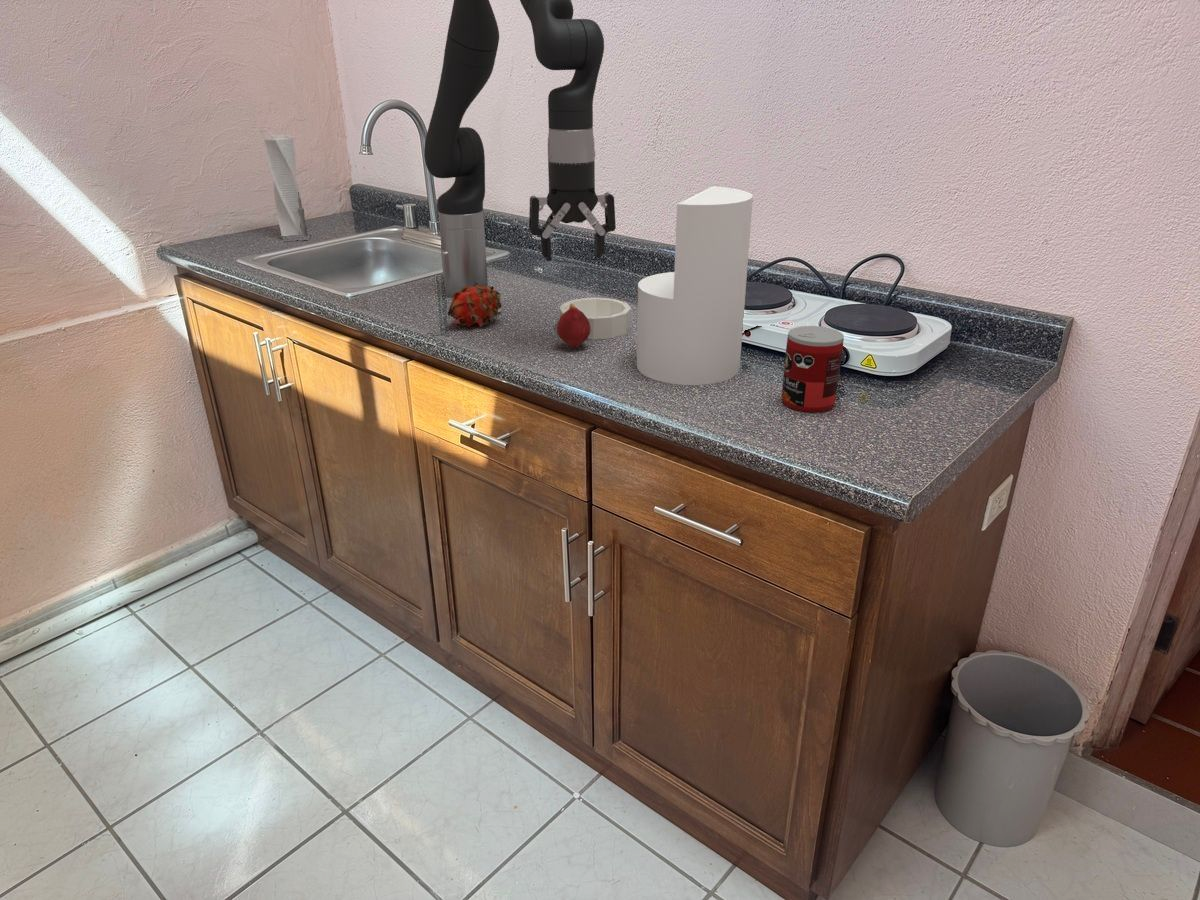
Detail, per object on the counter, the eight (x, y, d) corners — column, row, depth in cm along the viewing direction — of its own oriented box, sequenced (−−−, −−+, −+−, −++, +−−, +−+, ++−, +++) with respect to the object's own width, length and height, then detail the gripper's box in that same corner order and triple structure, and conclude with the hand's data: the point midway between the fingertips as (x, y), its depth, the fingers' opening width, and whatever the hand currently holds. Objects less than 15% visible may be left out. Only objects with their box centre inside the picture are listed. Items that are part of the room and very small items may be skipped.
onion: (594, 344, 151) (594, 301, 148) (583, 355, 147) (583, 310, 143) (564, 341, 153) (563, 298, 150) (552, 351, 148) (551, 307, 145)
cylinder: (751, 356, 146) (765, 189, 133) (722, 392, 131) (734, 208, 119) (657, 343, 152) (662, 182, 139) (620, 375, 138) (622, 199, 125)
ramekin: (567, 341, 153) (567, 320, 151) (555, 320, 164) (555, 300, 162) (637, 336, 155) (637, 315, 153) (620, 315, 167) (620, 296, 165)
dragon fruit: (508, 326, 166) (456, 348, 160) (484, 295, 168) (432, 315, 162) (516, 299, 159) (462, 320, 153) (491, 266, 161) (437, 286, 155)
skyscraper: (276, 242, 225) (257, 130, 213) (280, 235, 233) (261, 127, 220) (309, 240, 227) (291, 130, 214) (311, 234, 234) (295, 127, 222)
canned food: (775, 394, 131) (781, 326, 126) (825, 392, 131) (834, 324, 126) (789, 414, 124) (796, 343, 119) (842, 412, 124) (851, 341, 119)
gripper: (609, 153, 140) (608, 251, 147) (524, 156, 137) (528, 255, 145) (619, 159, 134) (619, 261, 141) (530, 162, 131) (534, 266, 138)
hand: (573, 258), depth 143 cm, fingers open, 8 cm apart
